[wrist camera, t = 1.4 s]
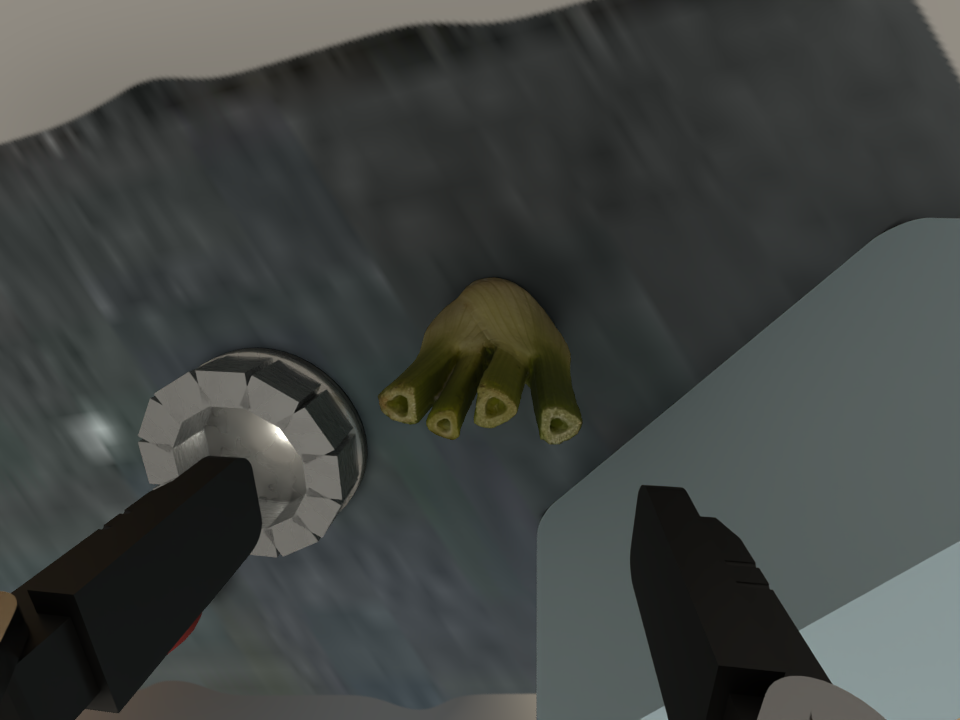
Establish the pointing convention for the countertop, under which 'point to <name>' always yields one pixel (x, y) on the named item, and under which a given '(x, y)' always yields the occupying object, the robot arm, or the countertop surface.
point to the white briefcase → (794, 494)
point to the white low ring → (263, 438)
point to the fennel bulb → (488, 366)
